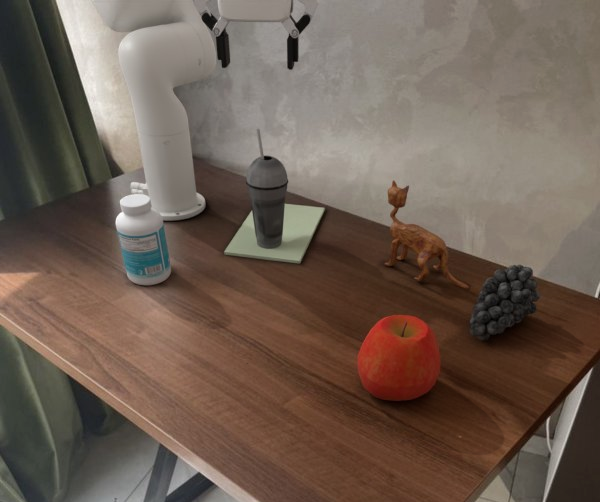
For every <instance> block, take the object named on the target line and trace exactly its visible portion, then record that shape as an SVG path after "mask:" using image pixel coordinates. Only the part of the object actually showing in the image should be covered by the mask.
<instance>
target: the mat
mask: <svg viewBox="0 0 600 502" xmlns="http://www.w3.org/2000/svg"><path fill="white" fill-rule="evenodd" d="M325 211H326V208H325V207H321V206H320V207H319V206H311V205H301V204H292V203H285V208H284V222H283V235H282V243H281V245H280V246H279V247H277V248H273V249H265V248H261V247H259V246H258V245H257V239H256V234H255V227H254V220H253V213H252V210H251V211H250V212H249V214H248V215H247V217H246V219H245V220H244V221H243V222H242V225H241V226H240V227H239V228H238V230H237V232H236V233H235V235H234V236H233V238H232V240H231V241H230V242H229V244H228V245H227V246H226V248H225V250H224V251H223V253H224V254H223V255H225V256H231V257H233V256H234V257H241V258H250V259H256V260H266V261H274V262H280V263H281V262H283V263H290V264H299V265H300V264H301V262H302V261H303V258H304V256H305V254H306V252H307V249H308V247H309V245H310V243H311V241H312V239H313V237H314V234H315V232H316V231H317V228H318V226H319V224H320V221H321V220H322V217H323V216H324V213H325Z"/></svg>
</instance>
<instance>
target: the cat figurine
mask: <svg viewBox="0 0 600 502" xmlns="http://www.w3.org/2000/svg"><path fill="white" fill-rule="evenodd" d="M409 190H410V185H406V186H405V187H404V188H401V187H398V185H397V182H396V181H395V180H394V179H393V180H392V182H391V187H388V189H387V202H388V204H389V205H391V206H392V207H393V209H392V210H391V211H390V214H389V217H390V218H391V220H392V224H391V226H390V228H389V232H390V234H391V236H392V238H393V240H392V241H391V244H390V256H391V257H390V260H389V261H388V262H386V261H385V263H384V264H383V265H385V266H387V267H393V266H394V265H396V263H397V260H399V261H403V260H405V259H406V258H407V256H408V252H409V250H411V251H413V252H414V253H416V254H417V255H418V256H417V258H416V260H417V264H418V266H419V268H420V270H421V273H420V274H419V275H418V276H417V277H413V279H414V280H416V281H417V282H423V281H424V280H425V279H427V278H428V277H429V275H430V274H431V273H430V269H429V267H428V261H430V260H431V259H434V258H436V257H437V258H438V259H439V263H438V264H437V265H436V264H434V265H433V266H432V268H433V270H436V271H440V270H441V269H442V272H443V274H444V276H445V278H446V279H447V280H448V281H449V282H451V283H452V284H454V285H455V286H458V287H460V288H462V289H468V290H469V289H470V285H468V284H466V283H465V282H463V281H460V280H458V279H456V278H455V276H453V275H452V274H451V272H450V270H449V261H450V257H449V251H448V247H447V244H446V241H445V240H444V239H443V238H442V237H440V236H439V235H437V234H435V233H433V232H431V231H429V230H427V229H426V228H424V227H422V226H420V225H418V224H415V223H404V222H403V221H400V220H399V219H398V217H396V215H397V213H398V212H399V209H401V208H404V207H405V206H406V204H407V199H408V193H409ZM401 245H402V252H401V254H400V255H398V250H399V247H400V246H401Z"/></svg>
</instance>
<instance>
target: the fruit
mask: <svg viewBox="0 0 600 502" xmlns="http://www.w3.org/2000/svg"><path fill="white" fill-rule="evenodd" d="M533 275H534V270H533V269H532V268H531V267H530V266H524V265H522V264H512V265H509V266H508V267H507V268H506V269H503V268H499V269H497V270H495V271H494V274H493V277H488V278H487V279H485V282H484V283H483V284H482V286H481V290H480V292H479V293H478V297H477V301H476V302H477V303H475V304H474V305H473V307H472V313H471V318H469V333H470V334H471V336H473V337H476V338H477V339H478V340H480V341H487V340H489V338H490V337H491V335H492V336H493V335H495V336H496V335H497V334H499V335H500V334H503V333H504V332H505V330H506V328H512V327H514V325H515V324H520V323H521V322H522V321H523V319H524V318H525V316H529V315H533V314H535V313H536V311H537V310H538V309H537V305H536V304H535V302H538V300H539V299H540V297H541V293H540V292H539V291H538V290H536V289H537V287H538V281H537V280H536V279H535V278H532V277H533Z"/></svg>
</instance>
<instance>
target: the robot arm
mask: <svg viewBox="0 0 600 502" xmlns="http://www.w3.org/2000/svg"><path fill="white" fill-rule="evenodd" d="M90 1H91V3H92V4H93V7H95V9H96V11H97V13H98V15H99V16H100V17H101V19H102V21H103V22H104V23H105V25H106V26H107V27H108V28H109V29H110V30H112V31H114V32H117V33H127V34H126V35H125V36H123V38H122V39H121V41H120V43H119V45H118V51H117V57H118V58H117V59H118V62H119V66H120V70H121V72H122V76H123V78H124V81H125V84H126V88H127V91H128V94H129V97H130V101H131V105H132V110H133V115H134V121H135V126H136V131H137V137H138V143H139V149H140V154H141V160H142V161H141V162H142V167H143V172H144V178H145V183H142V182H137V181H131V183H130V185H129V189H130V195H132V194H143V195H147V196H149V197H150V200H151V204H152V206H151V208H153V209H155V210H157V211H158V212H159V213H160V214H161V216H162V219H163V221H167V222H168V221H170V222H171V221H182V220H186V219H190V218H193V217H195V216H197V215H199V214H200V213H202V212H203V211H204V210H205V208H206V199H205V197H204V196H203V195H202V194H200V193H199V192H197V186H196V176H195V168H194V159H193V150H192V142H191V133H190V126H189V118H188V114H187V111H186V108H185V106H184V105H183V103H182V102H181V101H180V99H179V98H178V97H177V96H176V94H175V92H174V88H177V87H179V86H183V85H187V84H191V83H195V82H198V81H202V80H205V79H207V78H208V77H209V76H210V75H211V74H212V73H213V72H214V71H215V68H216V66H217V60H218V61H221V63H220V64H221V68H222V69H226V68H228V67H229V66H230V64H231V51H230V36H229V33H228V32H227V29H226V28H227V27H228V25H229V24H230V22H237V23H241V22H243V23H281V24H282V26H283V27H284V29H285V30H286V31H287V33H288V37H287V38H286V60H287V61H286V65H287V69H288V70H289V71H292V70H293V69H294V67H295V63H299V55H300V54H299V49H300V48H299V39H300V38H299V37H300V36H301V34H302V33H303V32H304V30H305V29H306V28H307V27H308V26H309V25H310V23H311V21H312V18H313V17H314V14H315V12H316V10H317V8H318V5H319V0H297V1H298V2H299V3H301V4H303V5H304V6H305V10H304V13H303V15H302V16H301V17H300V18H299V19H298V20H296V18H295V17H294V16H293V14H292V13H293V12H294V0H217V8H218V13H219V16H220V17H219V18H218V19H217V17H216V16H214V14H212V12H211V11H210V9H209V7H208V2H210V1H211V0H90ZM209 30H210V31H211V32H212V35H213V36H214V37H215V42H214V40H213V37H212V35H211V32H210V31H209ZM215 44H216V46H215Z"/></svg>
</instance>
